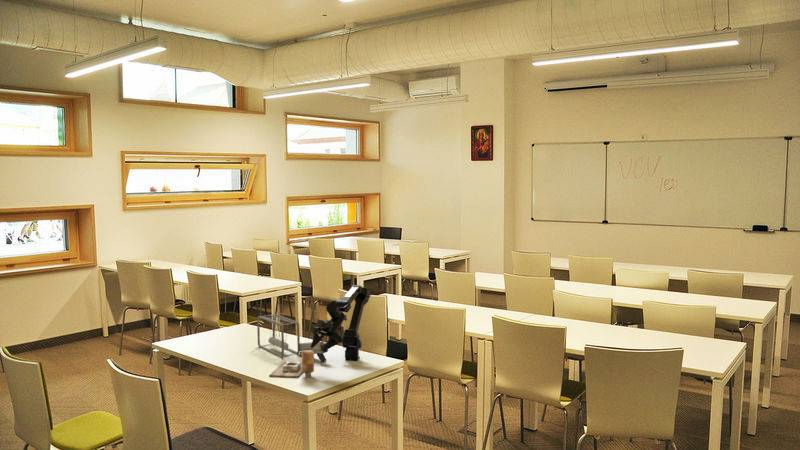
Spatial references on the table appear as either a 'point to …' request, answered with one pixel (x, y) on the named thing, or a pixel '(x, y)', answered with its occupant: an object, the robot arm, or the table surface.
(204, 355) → the table surface
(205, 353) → the table surface
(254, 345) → the table surface
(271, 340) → the newton's cradle
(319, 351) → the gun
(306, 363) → the tapered tan cup
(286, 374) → the brown board with rail
